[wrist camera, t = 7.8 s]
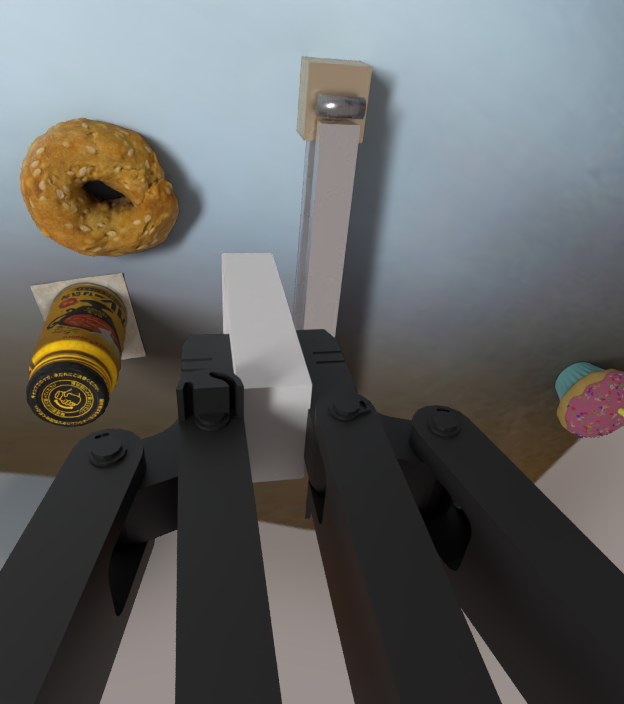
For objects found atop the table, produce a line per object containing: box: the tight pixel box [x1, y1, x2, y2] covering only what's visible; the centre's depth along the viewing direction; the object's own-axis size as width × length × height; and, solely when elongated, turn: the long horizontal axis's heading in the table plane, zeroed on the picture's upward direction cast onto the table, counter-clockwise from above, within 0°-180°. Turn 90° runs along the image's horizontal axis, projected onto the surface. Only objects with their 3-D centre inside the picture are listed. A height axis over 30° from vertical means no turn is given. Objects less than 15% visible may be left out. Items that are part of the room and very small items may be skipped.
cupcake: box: [555, 362, 624, 438], centre depth 58 cm, size 9×8×12 cm
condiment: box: [26, 273, 146, 427], centre depth 43 cm, size 7×8×12 cm
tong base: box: [292, 57, 372, 330], centre depth 46 cm, size 4×28×3 cm, turn 175°
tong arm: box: [301, 95, 366, 338], centre depth 44 cm, size 3×27×2 cm, turn 175°
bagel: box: [20, 118, 179, 256], centre depth 40 cm, size 10×11×5 cm
